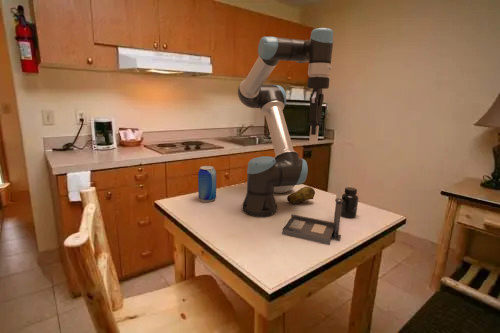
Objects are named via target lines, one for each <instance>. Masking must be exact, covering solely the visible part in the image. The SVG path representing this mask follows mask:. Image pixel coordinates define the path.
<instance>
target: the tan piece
mask: <svg viewBox="0 0 500 333" xmlns="http://www.w3.org/2000/svg"><path fill="white" fill-rule="evenodd" d="M337 198H339V199H341V198H342V189H341V188H338V187H337V188H336V196H335V199H337Z"/></svg>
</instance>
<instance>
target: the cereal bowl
mask: <svg viewBox="0 0 500 333" xmlns="http://www.w3.org/2000/svg"><path fill="white" fill-rule="evenodd" d="M294 187H295V186H280V187H274V194H275V193H276V194H285V193H287V192H289V191H291V190H293V189H294Z"/></svg>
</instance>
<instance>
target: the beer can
mask: <svg viewBox="0 0 500 333" xmlns="http://www.w3.org/2000/svg"><path fill="white" fill-rule="evenodd" d="M197 176H198V177H197V178H198V180H197V182H198V183H197V186H198V187H197V188H198V190H197V191H198V199H199V200H200V202H201V203H213V202H214V201H215V200H216V199H217V171H216V169H215V167H214V166H212V165H203V166H200V167H199V170H198V172H197Z"/></svg>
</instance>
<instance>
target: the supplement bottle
mask: <svg viewBox="0 0 500 333" xmlns="http://www.w3.org/2000/svg"><path fill="white" fill-rule="evenodd" d="M357 194H358V189H357V188H355V187H352V186H351V187H349V186H348V187H347V186H346V187H344V193H342V194H341V199H343V202H342V207H341V216H342V217H343V218H347V219H353V218H356V216H357V212H358V204H359V196H358V195H357ZM341 216H340V217H341Z"/></svg>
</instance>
